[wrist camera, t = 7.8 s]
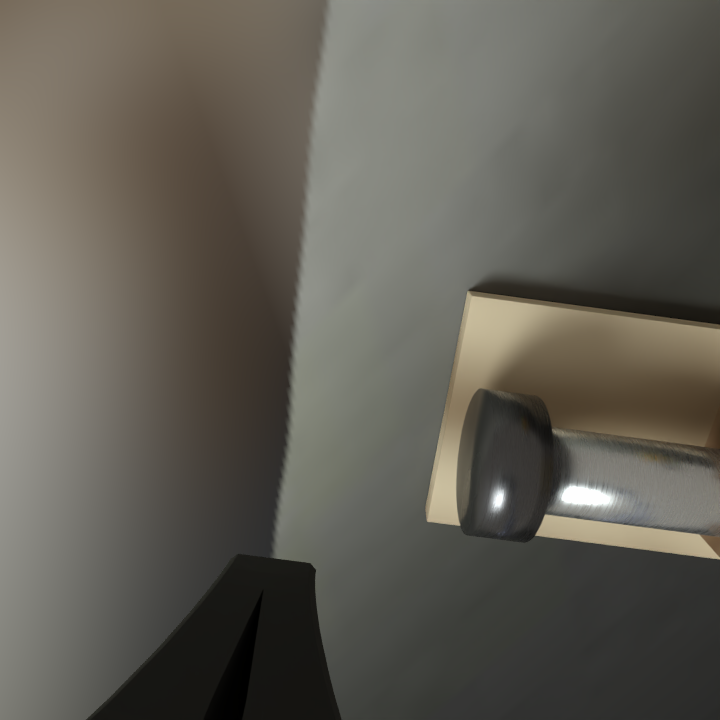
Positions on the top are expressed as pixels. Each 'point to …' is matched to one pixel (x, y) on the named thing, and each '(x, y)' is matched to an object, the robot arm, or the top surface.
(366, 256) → the top surface
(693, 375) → the bearing bed
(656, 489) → the shaft
